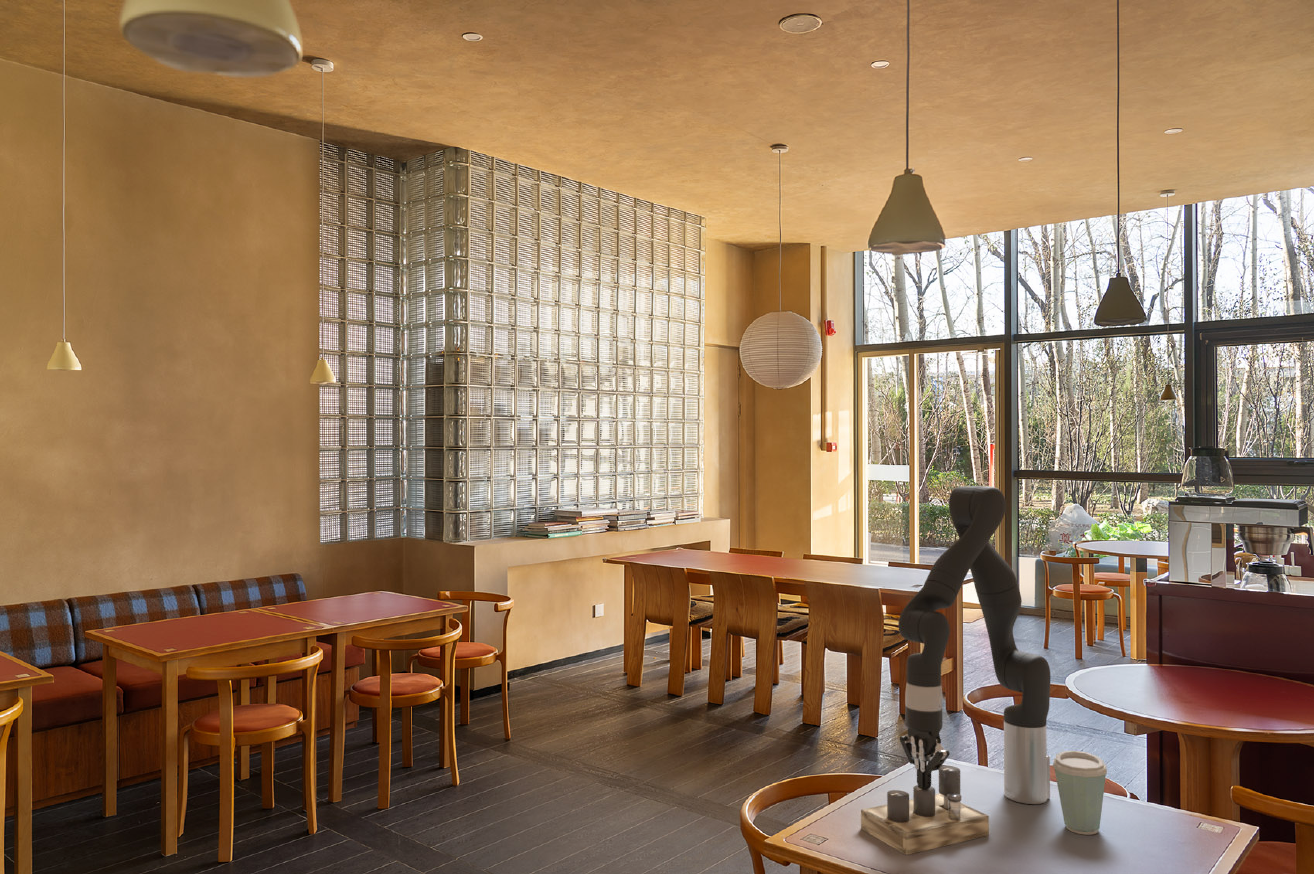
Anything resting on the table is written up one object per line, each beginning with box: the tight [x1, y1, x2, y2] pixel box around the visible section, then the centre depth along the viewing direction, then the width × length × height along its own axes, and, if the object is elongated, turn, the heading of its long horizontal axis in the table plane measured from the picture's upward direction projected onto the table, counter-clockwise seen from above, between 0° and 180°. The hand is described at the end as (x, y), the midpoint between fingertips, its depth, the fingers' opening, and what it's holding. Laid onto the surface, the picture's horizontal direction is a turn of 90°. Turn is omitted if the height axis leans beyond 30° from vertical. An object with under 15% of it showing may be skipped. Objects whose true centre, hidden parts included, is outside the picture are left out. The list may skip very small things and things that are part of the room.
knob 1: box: [886, 789, 910, 823], centre depth 186 cm, size 4×4×8 cm
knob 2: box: [938, 765, 961, 809], centre depth 192 cm, size 4×4×8 cm
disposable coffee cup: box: [1052, 750, 1108, 836], centre depth 191 cm, size 11×11×15 cm
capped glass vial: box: [947, 793, 962, 821], centre depth 186 cm, size 3×3×5 cm
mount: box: [860, 793, 990, 856], centre depth 189 cm, size 22×14×4 cm, turn 116°
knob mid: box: [912, 784, 936, 817], centre depth 189 cm, size 4×4×8 cm
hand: (923, 787), depth 189 cm, fingers closed
